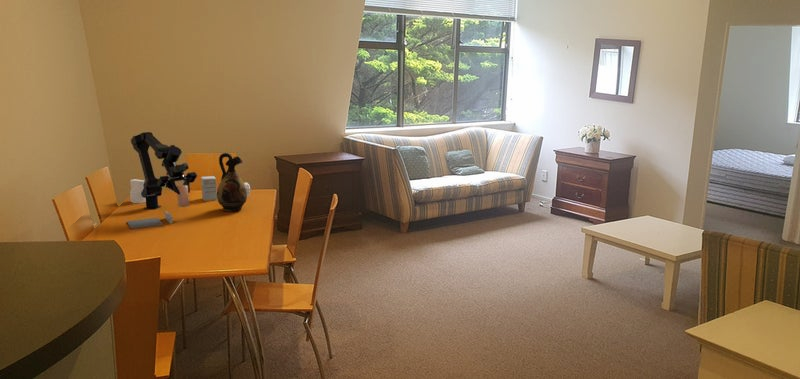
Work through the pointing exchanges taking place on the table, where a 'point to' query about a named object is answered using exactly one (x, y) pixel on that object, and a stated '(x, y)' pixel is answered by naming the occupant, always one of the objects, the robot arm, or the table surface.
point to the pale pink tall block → (183, 196)
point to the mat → (144, 223)
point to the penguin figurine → (247, 188)
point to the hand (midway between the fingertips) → (184, 193)
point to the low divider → (168, 217)
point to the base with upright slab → (137, 191)
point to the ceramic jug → (231, 185)
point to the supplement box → (209, 188)
